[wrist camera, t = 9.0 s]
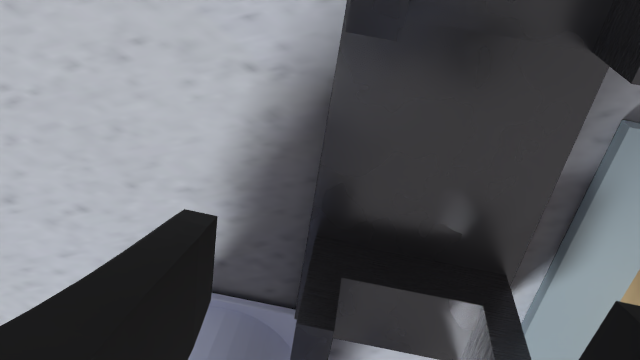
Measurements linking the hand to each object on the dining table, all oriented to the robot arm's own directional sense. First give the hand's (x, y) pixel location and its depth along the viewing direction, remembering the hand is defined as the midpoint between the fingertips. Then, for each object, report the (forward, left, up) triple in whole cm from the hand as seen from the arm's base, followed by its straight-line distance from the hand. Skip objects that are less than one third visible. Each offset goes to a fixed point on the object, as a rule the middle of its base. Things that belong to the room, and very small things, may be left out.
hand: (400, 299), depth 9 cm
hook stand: (-1, -2, -9) cm, 10 cm away
